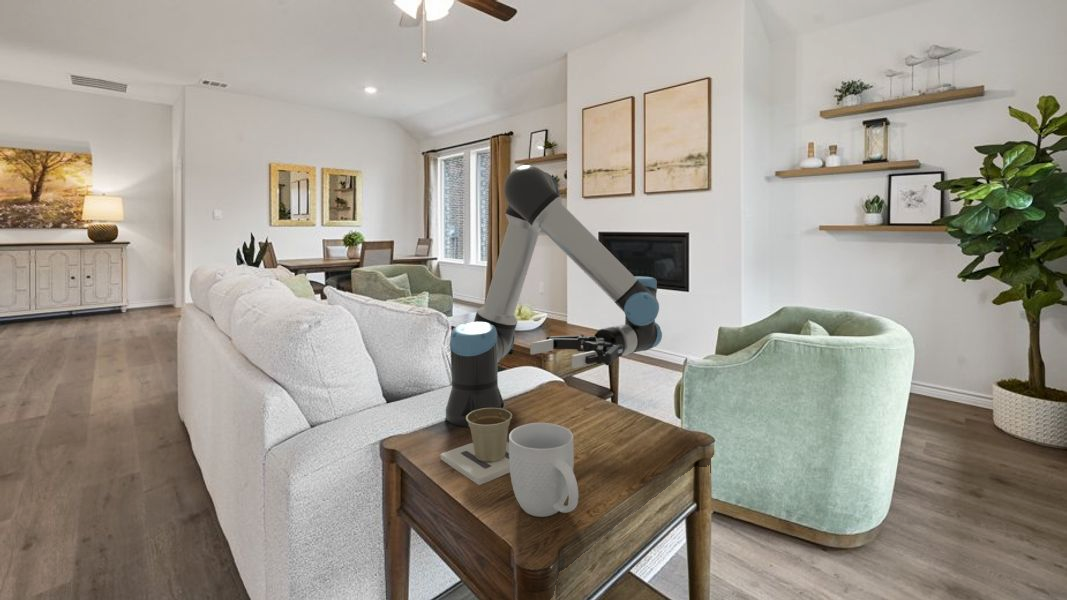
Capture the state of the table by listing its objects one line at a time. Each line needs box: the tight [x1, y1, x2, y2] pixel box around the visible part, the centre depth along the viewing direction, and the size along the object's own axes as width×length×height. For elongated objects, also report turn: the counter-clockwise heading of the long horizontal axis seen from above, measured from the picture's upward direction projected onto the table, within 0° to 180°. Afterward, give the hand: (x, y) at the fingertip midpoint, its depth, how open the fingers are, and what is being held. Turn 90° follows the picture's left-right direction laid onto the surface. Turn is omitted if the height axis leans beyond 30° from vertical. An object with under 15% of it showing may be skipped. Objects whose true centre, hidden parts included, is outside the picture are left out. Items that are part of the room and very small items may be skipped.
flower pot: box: [466, 408, 513, 462], centre depth 100 cm, size 9×9×9 cm
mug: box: [508, 422, 579, 518], centre depth 82 cm, size 15×11×13 cm
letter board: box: [440, 441, 510, 486], centre depth 101 cm, size 14×14×1 cm
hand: (551, 354), depth 107 cm, fingers open, 13 cm apart
